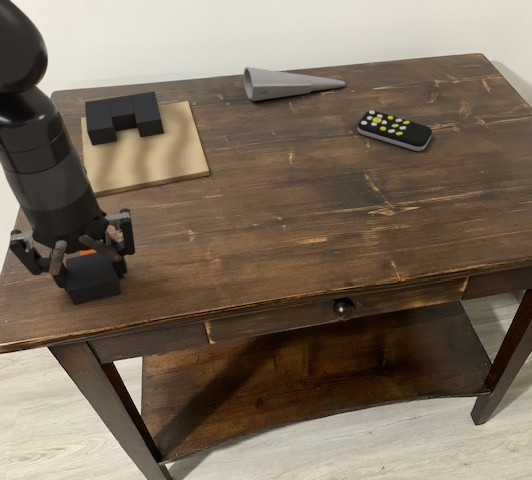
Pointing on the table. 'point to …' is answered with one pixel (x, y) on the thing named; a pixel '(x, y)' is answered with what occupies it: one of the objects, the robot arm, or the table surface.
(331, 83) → the long tapered cone
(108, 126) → the dark grey u-shaped block
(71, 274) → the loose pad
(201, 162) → the board
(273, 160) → the table surface
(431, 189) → the table surface
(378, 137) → the remote control
